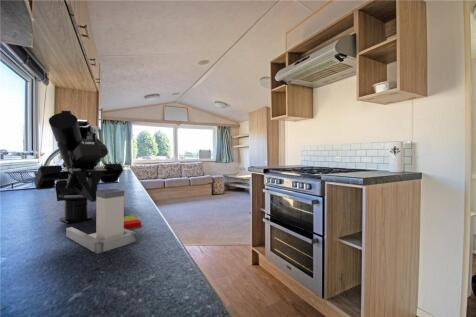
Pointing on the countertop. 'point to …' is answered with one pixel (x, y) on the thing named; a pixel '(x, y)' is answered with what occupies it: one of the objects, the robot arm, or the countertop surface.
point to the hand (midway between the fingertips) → (94, 200)
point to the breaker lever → (109, 213)
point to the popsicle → (131, 222)
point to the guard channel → (96, 244)
